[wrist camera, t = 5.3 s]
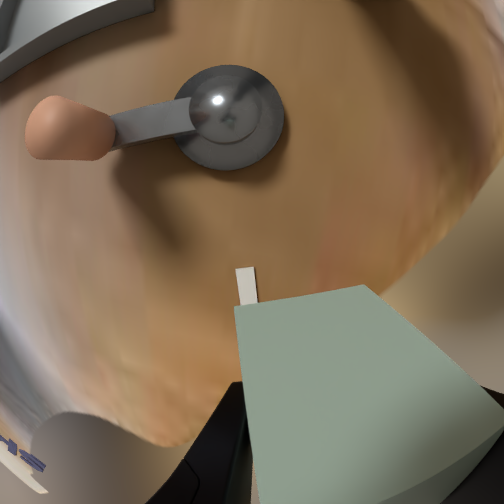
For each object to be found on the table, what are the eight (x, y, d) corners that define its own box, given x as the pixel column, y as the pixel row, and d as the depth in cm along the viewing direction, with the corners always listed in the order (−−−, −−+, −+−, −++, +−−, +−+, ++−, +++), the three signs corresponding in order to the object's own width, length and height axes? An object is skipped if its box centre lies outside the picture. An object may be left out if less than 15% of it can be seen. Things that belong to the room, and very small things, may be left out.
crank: (256, 80, 15) (267, 33, 8) (263, 141, 16) (279, 122, 10) (84, 116, 14) (25, 99, 8) (88, 173, 15) (27, 177, 9)
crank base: (275, 65, 15) (276, 61, 15) (298, 300, 20) (300, 305, 19) (169, 78, 15) (166, 74, 14) (201, 312, 20) (200, 317, 19)
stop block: (363, 284, 9) (512, 417, 2) (355, 380, 10) (433, 509, 4) (234, 306, 9) (265, 531, 2) (249, 402, 10) (277, 563, 3)
